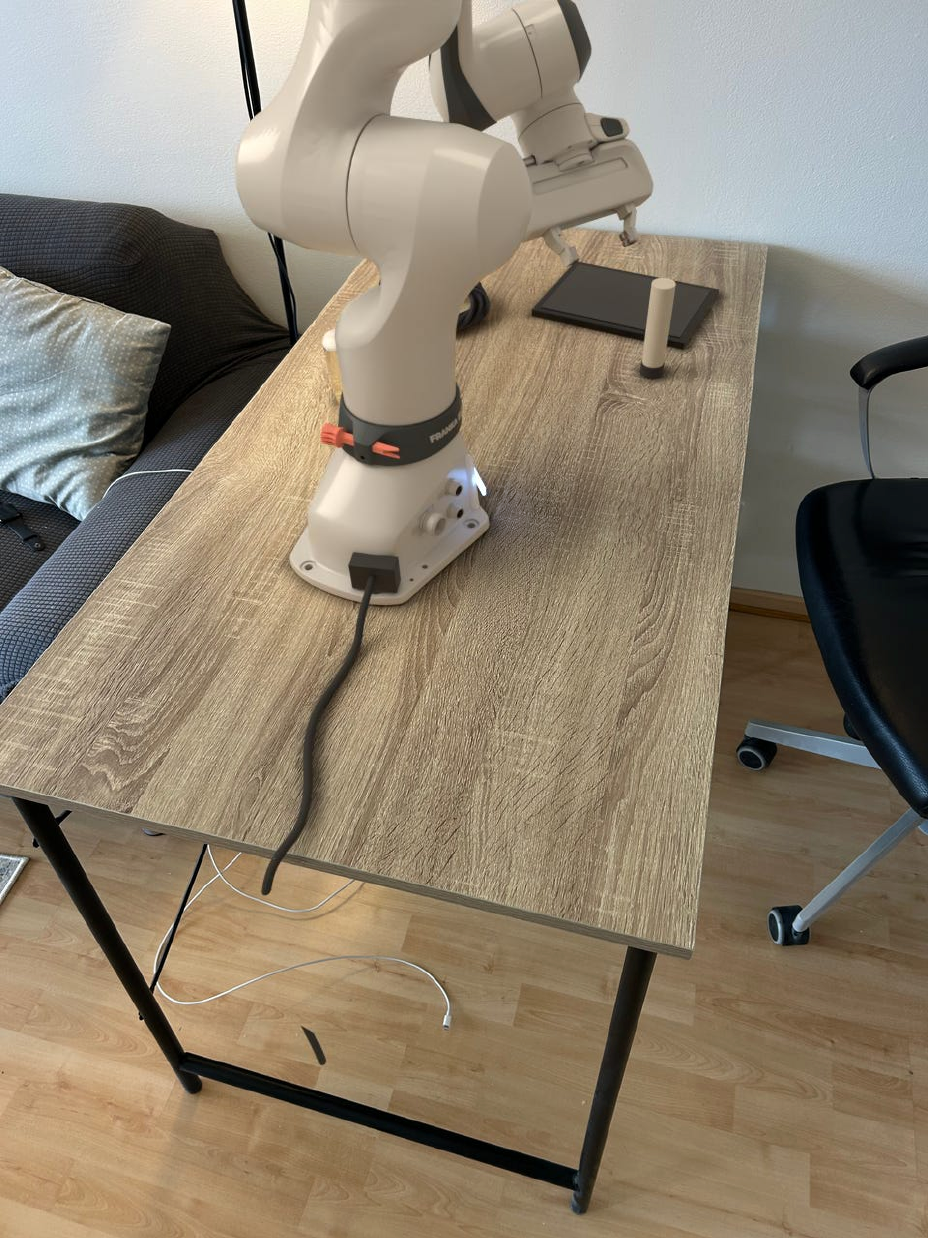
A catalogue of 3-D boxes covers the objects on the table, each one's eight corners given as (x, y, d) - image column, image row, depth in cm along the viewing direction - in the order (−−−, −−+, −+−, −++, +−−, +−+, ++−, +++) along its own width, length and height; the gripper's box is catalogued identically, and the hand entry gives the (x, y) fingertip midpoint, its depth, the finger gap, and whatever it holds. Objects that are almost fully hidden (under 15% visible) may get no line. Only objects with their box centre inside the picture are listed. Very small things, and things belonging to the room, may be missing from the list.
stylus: (658, 381, 113) (671, 291, 104) (636, 375, 114) (647, 286, 105) (666, 369, 115) (680, 279, 106) (644, 364, 116) (655, 275, 107)
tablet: (683, 349, 118) (684, 342, 117) (531, 315, 125) (531, 308, 125) (718, 295, 128) (719, 288, 127) (575, 267, 135) (575, 259, 134)
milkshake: (371, 408, 111) (362, 335, 104) (329, 409, 111) (316, 335, 104) (375, 388, 114) (366, 315, 107) (333, 388, 114) (321, 316, 107)
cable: (500, 299, 129) (500, 270, 126) (474, 349, 120) (473, 319, 117) (388, 286, 133) (385, 258, 129) (354, 334, 123) (350, 305, 120)
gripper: (500, 153, 105) (546, 265, 107) (636, 116, 112) (677, 221, 114) (480, 180, 111) (524, 286, 113) (611, 143, 118) (650, 243, 120)
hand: (602, 253), depth 113 cm, fingers open, 8 cm apart
